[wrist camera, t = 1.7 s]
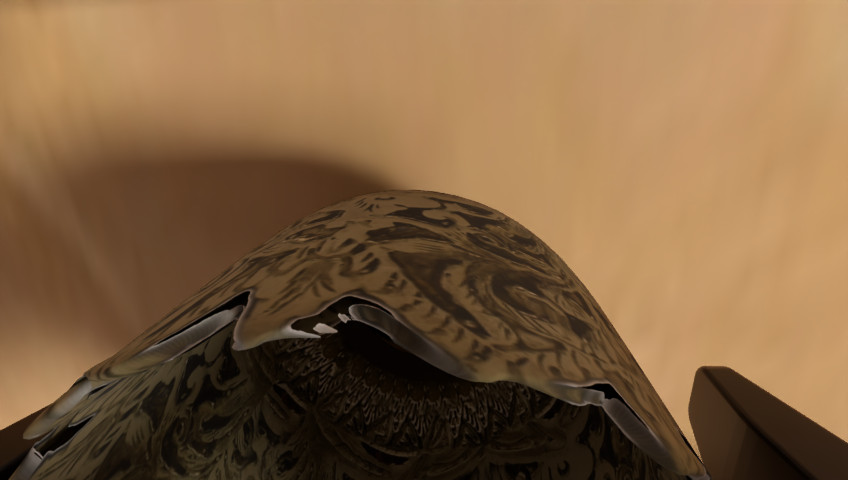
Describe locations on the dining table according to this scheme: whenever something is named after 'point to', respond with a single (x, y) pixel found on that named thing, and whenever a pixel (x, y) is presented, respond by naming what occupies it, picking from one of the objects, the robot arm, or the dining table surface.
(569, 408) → the cup
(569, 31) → the dining table surface
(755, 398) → the robot arm
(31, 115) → the dining table surface
